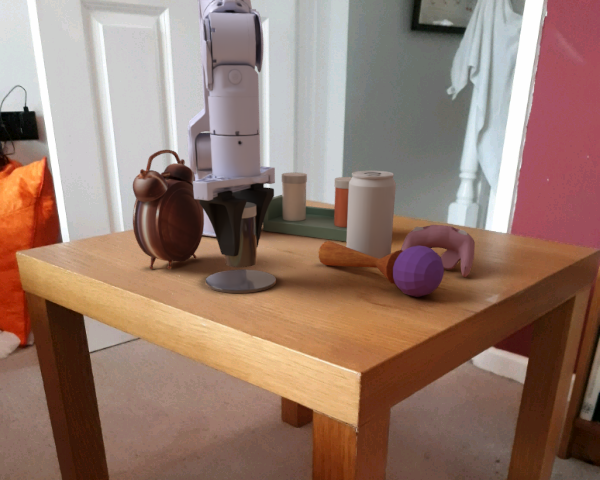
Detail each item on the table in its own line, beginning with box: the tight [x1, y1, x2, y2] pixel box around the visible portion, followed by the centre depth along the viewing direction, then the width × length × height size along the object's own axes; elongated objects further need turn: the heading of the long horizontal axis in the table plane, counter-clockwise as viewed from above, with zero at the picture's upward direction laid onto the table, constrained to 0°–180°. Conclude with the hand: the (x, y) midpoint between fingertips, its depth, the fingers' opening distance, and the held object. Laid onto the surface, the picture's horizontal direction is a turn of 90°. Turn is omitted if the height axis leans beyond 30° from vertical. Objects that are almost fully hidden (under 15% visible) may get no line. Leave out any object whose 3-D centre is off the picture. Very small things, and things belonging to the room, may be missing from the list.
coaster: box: [205, 269, 277, 294], centre depth 81 cm, size 9×9×1 cm
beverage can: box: [345, 170, 397, 259], centre depth 88 cm, size 6×6×12 cm
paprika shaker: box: [333, 176, 353, 228], centre depth 102 cm, size 4×4×7 cm
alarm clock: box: [132, 149, 204, 270], centre depth 85 cm, size 11×5×15 cm, turn 154°
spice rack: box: [262, 194, 347, 243], centre depth 106 cm, size 18×9×5 cm, turn 61°
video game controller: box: [400, 224, 476, 278], centre depth 86 cm, size 10×5×7 cm, turn 71°
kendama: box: [318, 240, 445, 298], centre depth 81 cm, size 6×6×20 cm
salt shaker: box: [281, 171, 308, 221], centre depth 106 cm, size 4×4×7 cm
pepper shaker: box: [224, 202, 258, 269], centre depth 78 cm, size 4×4×7 cm
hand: (239, 250), depth 79 cm, fingers closed on pepper shaker, 4 cm apart
